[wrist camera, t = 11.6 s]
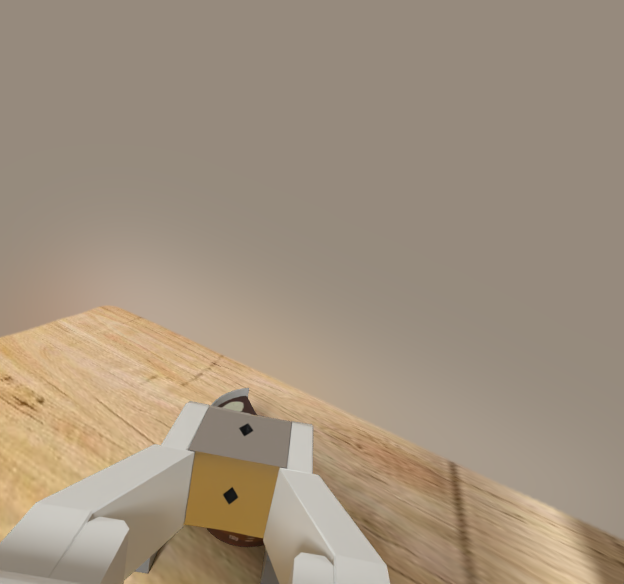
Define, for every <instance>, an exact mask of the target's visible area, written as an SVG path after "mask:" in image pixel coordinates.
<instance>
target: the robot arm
mask: <svg viewBox="0 0 624 584" xmlns="http://www.w3.org/2000/svg"><path fill="white" fill-rule="evenodd" d="M183 524H185V525H191V526H198V527H205V528H212V529H219V530H225V531H230V532H235V533H239V534H244V535H249V536H254V537H258V538H263V542H264V545H265V547H266V550H267V553H268V555H269V558H270V560H271V563H272V566H273V568H274V571H275V574H276V576H277V579H278V581H279V584H390V580H389V575H388V569H387V565H386V564H385V563H384V561H383V560H382V559H381V557H380V556H379V555H378V553H377V552H376V551H375V549H374V548H373V547H372V545H371V544H370V543H369V541H368V540H367V539H366V537H365V536H364V535H363V533H362V532H361V531H360V529H359V528H358V527H357V525H356V524H355V522H354V521H353V520H352V518H351V517H350V516H349V514H348V513H347V512H346V510H345V509H344V508H343V506H342V505H341V504H340V502H339V501H338V500H337V498H336V497H335V496H334V494H333V493H332V492H331V490H330V489H329V488H328V486H327V485H326V484H325V482H324V481H323V480H322V478H321V477H320V476H319V475H316V474H313V426H312V424H306V423H300V422H293V421H292V422H290V421H285V420H279V419H273V418H268V417H262V416H257V415H251V414H249V413H244V412H240V411H235V410H230V409H226V408H221V407H217V406H212V405H211V406H210V405H207V404H202V403H197V402H192V401H189V402H188V403H186V404H185V406H184V408H183V409H182V411H181V413H180V414H179V416H178V418H177V419H176V421H175V423H174V424H173V426H172V428H171V429H170V431H169V433H168V434H167V436H166V438H165V439H164V441H163V443H162V444H161V445H156V444H154V445H152V446H150V447H148V448H146V449H144V450H142V451H140V452H138V453H136V454H134V455H132V456H129V457H127V458H125V459H123V460H121V461H119V462H117V463H115V464H113V465H111V466H109V467H107V468H105V469H103V470H101V471H99V472H97V473H95V474H93V475H91V476H89V477H87V478H85V479H83V480H81V481H79V482H77V483H75V484H73V485H71V486H69V487H67V488H65V489H63V490H61V491H59V492H57V493H55V494H53V495H51V496H49V497H47V498H45V499H42V500H40V501H38V502H36V503H35V505H34V506H33V507H32V508H31V509H30V510H29V511H28V512H27V514H26V515H25V516H24V517H23V518H22V519H21V520H20V521H19V523H18V524H17V525H16V526H15V527H14V528H13V529H12V530H11V532H10V533H9V534H8V535H7V536H6V537H5V538H4V539H3V541H2V542H1V543H0V584H123V583H124V580H125V579H126V578H127V577H129V576H130V575H131V574H132V573H133V572H134V571H135V570H136V569H137V568H138V567H140V566H141V565H142V564H143V563H144V562H145V561H146V560H147V559H148V558H149V557H151V556H152V555H153V554H154V553H155V552H156V551H157V550H158V549H159V548H161V547H162V546H163V545H164V544H165V543H166V542H167V541H168V540H169V539H170V538H172V537H173V536H174V535H175V534H176V533H177V532H178V531H179V530H180V529H181V528H183Z"/></svg>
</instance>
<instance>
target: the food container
mask: <svg viewBox="0 0 624 584" xmlns="http://www.w3.org/2000/svg"><path fill="white" fill-rule="evenodd" d="M248 392H249V388H243V389H238V390H234V391H231V392H228V393H226V394H224V395H222V396H221V397H219V398H218V399H216V400H215V401H214V402H213V403H212V406H217V407H221V408H226V409H230V410H235V411H240V412H244V413H249V414H251V415H257V414H256V413H255V411H254V409H253V407H252V405H251V403H250V401H249V399H248ZM207 529H208V531H209V532H210V533H211V534H212V535H214V536H215V537H216V538H218V539H219V540H221V541H223V542H225V543H228V544H231V545H235V546H240V547H256V546H260V545H264V542H263V538H258V537H254V536H249V535H244V534H239V533H235V532H230V531H225V530H219V529H212V528H207Z"/></svg>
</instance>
